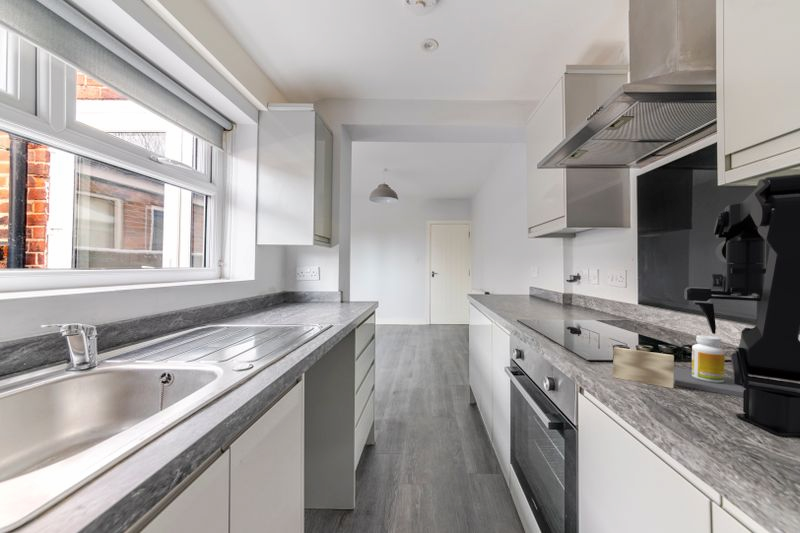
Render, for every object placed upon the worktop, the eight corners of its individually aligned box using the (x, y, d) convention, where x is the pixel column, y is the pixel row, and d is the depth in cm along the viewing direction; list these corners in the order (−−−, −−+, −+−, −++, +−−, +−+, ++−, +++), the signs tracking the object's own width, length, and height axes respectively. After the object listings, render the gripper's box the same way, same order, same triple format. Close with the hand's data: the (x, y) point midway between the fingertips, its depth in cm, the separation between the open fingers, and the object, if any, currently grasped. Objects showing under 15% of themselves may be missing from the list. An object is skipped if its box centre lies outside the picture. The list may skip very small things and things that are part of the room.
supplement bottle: (731, 383, 70) (732, 340, 69) (706, 383, 70) (707, 339, 70) (708, 375, 75) (709, 334, 75) (685, 374, 75) (685, 334, 75)
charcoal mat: (737, 381, 74) (738, 377, 74) (753, 399, 64) (753, 394, 64) (670, 370, 81) (670, 366, 81) (675, 385, 71) (675, 380, 71)
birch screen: (672, 386, 70) (673, 355, 70) (673, 388, 69) (673, 356, 69) (613, 375, 77) (613, 347, 77) (613, 377, 76) (613, 348, 76)
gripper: (798, 264, 68) (796, 336, 68) (682, 263, 79) (681, 325, 79) (822, 263, 59) (820, 347, 59) (687, 263, 70) (686, 333, 70)
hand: (743, 336), depth 67 cm, fingers open, 9 cm apart
